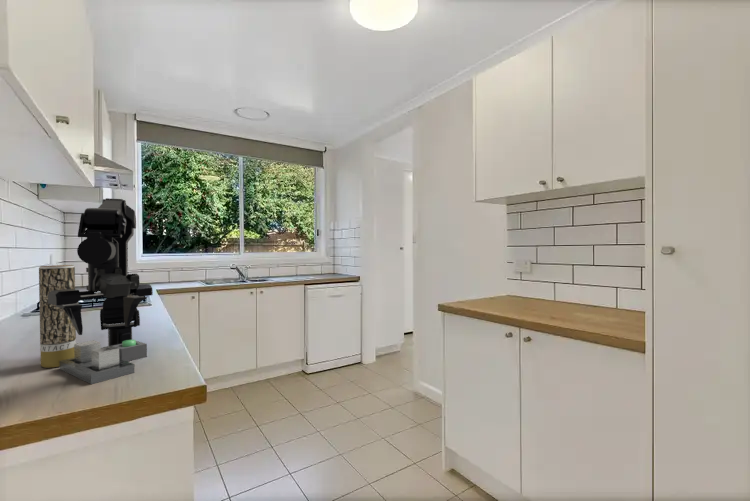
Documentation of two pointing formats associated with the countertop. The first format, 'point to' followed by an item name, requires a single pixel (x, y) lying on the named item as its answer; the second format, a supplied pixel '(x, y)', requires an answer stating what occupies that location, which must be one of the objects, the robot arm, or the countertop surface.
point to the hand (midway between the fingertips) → (104, 330)
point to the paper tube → (55, 316)
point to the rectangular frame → (90, 376)
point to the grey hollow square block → (132, 351)
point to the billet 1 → (84, 351)
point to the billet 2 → (105, 358)
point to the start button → (128, 343)
